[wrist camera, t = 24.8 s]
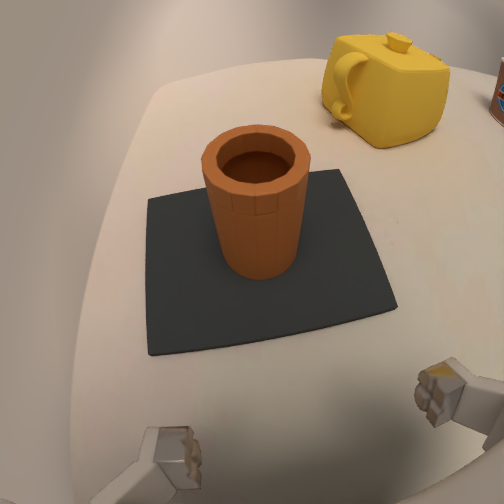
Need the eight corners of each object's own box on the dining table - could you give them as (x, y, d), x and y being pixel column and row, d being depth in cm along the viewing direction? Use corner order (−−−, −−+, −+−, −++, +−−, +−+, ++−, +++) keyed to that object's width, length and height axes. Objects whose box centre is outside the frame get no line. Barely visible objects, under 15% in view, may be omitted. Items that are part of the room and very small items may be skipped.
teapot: (396, 85, 37) (410, 23, 27) (455, 129, 32) (481, 63, 21) (297, 105, 33) (301, 19, 23) (365, 163, 27) (393, 61, 17)
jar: (228, 286, 21) (205, 204, 13) (219, 223, 24) (199, 132, 16) (305, 272, 21) (325, 186, 13) (287, 211, 24) (293, 120, 16)
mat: (150, 356, 19) (147, 354, 18) (149, 203, 26) (147, 198, 25) (395, 309, 20) (398, 306, 19) (338, 172, 27) (339, 168, 26)
